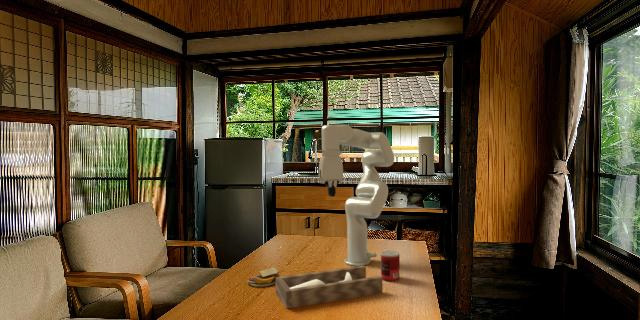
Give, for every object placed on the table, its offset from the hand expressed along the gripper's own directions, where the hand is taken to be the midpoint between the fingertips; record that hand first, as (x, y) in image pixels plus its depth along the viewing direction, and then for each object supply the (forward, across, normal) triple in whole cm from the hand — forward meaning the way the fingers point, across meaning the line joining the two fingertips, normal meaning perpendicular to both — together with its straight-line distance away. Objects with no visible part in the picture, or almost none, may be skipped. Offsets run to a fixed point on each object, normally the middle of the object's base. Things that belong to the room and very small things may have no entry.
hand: (331, 196), depth 170 cm
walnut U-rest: (+34, +10, +18) cm, 40 cm away
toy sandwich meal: (+35, +30, -4) cm, 46 cm away
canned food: (+35, -20, +14) cm, 43 cm away
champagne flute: (+30, +2, +21) cm, 37 cm away
